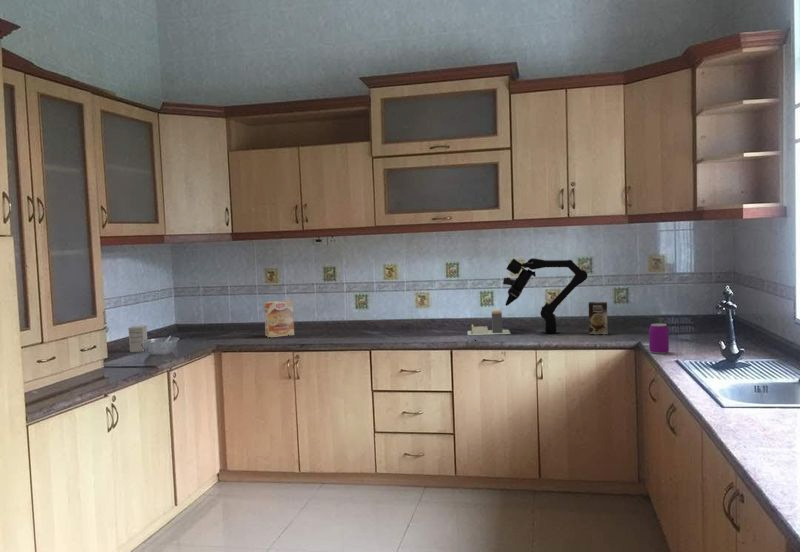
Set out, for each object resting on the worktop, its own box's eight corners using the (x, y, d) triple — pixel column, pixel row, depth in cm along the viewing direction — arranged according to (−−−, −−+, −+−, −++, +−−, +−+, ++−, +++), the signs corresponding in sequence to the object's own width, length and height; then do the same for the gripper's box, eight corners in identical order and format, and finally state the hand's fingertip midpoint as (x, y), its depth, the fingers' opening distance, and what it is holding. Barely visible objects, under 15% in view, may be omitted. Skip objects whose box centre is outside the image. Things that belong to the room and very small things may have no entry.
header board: (508, 332, 368) (508, 322, 368) (510, 336, 354) (510, 326, 354) (467, 333, 370) (467, 323, 370) (467, 337, 356) (467, 327, 356)
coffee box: (588, 335, 347) (588, 303, 346) (589, 333, 353) (588, 301, 352) (607, 335, 345) (607, 302, 344) (607, 333, 351) (607, 301, 350)
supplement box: (134, 349, 361) (132, 325, 360) (148, 349, 362) (146, 325, 361) (129, 352, 354) (127, 327, 353) (144, 351, 354) (142, 326, 353)
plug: (501, 331, 364) (501, 310, 363) (502, 332, 359) (501, 311, 358) (492, 331, 364) (491, 310, 363) (492, 332, 360) (491, 311, 359)
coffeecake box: (269, 337, 384) (267, 302, 382) (265, 336, 390) (263, 302, 389) (294, 335, 391) (293, 300, 390) (290, 333, 397) (288, 299, 396)
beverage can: (645, 351, 296) (645, 324, 295) (661, 350, 298) (661, 322, 297) (656, 354, 288) (655, 326, 288) (672, 353, 290) (672, 324, 289)
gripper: (511, 270, 371) (495, 294, 374) (508, 272, 353) (491, 297, 356) (528, 281, 369) (513, 305, 372) (526, 284, 351) (510, 309, 354)
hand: (506, 304), depth 364 cm, fingers open, 9 cm apart
